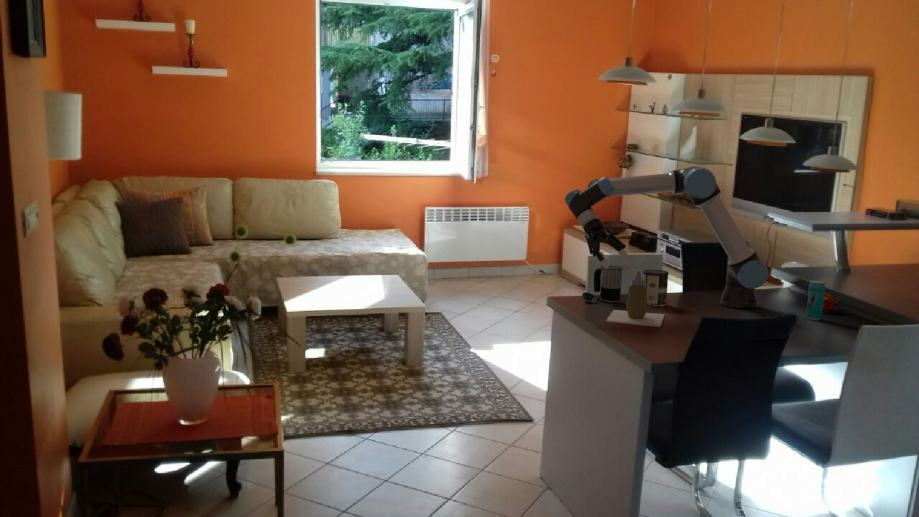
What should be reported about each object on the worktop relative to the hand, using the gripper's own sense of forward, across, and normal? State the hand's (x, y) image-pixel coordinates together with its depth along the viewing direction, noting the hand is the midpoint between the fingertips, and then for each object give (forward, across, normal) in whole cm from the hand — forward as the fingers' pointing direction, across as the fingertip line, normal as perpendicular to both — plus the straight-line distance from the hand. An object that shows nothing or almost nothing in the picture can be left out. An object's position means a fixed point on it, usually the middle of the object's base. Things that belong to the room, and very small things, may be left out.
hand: (618, 265), depth 317 cm
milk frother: (0, -16, -28) cm, 32 cm away
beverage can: (+51, -58, +23) cm, 81 cm away
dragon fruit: (+48, -77, +20) cm, 93 cm away
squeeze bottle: (+20, 0, -7) cm, 21 cm away
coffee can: (+12, -29, -16) cm, 35 cm away
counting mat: (+20, 0, -7) cm, 22 cm away
